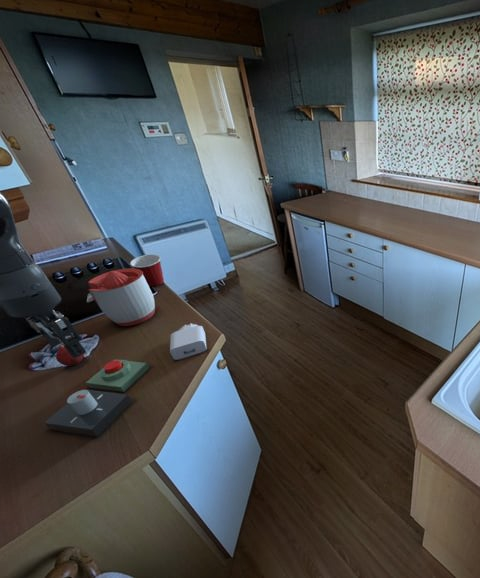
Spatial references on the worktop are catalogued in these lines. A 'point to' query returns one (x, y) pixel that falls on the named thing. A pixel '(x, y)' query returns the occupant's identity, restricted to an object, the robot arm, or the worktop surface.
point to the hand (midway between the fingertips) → (68, 349)
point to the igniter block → (118, 377)
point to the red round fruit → (67, 357)
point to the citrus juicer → (123, 296)
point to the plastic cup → (149, 268)
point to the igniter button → (113, 366)
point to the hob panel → (90, 415)
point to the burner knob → (82, 402)
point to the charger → (187, 341)
